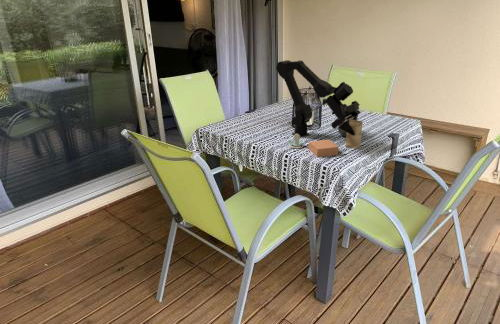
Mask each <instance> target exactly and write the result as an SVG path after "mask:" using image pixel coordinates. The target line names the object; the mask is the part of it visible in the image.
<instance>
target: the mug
mask: <svg viewBox="0 0 500 324" xmlns="http://www.w3.org/2000/svg"><path fill="white" fill-rule="evenodd" d="M338 127H339V125H338V126H337V131H338V134H340V135H341V136H343V137H346V136H347V132H346V131H343V130H341V129H338Z"/></svg>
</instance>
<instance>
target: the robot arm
mask: <svg viewBox="0 0 500 324" xmlns="http://www.w3.org/2000/svg"><path fill="white" fill-rule="evenodd" d="M275 70H276V71H277V73H278V76H279V77H281V78H282V79H283V80H284V82H285V84H286V87H287V89H288V91H289V92H288V93H289V94H290V97H291V100H292V101H293V104H294V108H295V109H294V115H295V117H294V118H292V119H291V124H292V125H294V132H291V134H292V135H293V136H294V135H295V134H299V135H300V138H302V137H305V136H308V135H310V133H308V123H309V122H310V120H311V119H312V118H313V115H314V114H313V112H314V111H313V110H312V108H311V105H310V103H309V104H308V103H306V102H305V101H304V99H303V96H302V94H301V91H300V88H299V86H298V84H297V82H296V79H295V76H294V75H295V71H296V72H297V73H299V74H300V75H301V76H302V77H303V79H305V80H306V81H307V82H308V84H310V85H311V86H312V87H313V91H314V93H315V94H316V95H317V97H319V98H321V99H322V106H325V105H327V106H328V107H329V109H330V110H331V111H332V112H331V114H332V115H335V117H336V119H335V120H333V121H332V122H331V125H330V126H331V127H332V129H333V130H335V129H337V130H338V129H341V130H343V131H346V132H347V133H349V134H351V135H353V136H354V135H355V133H354V131H353V129H352V128H351V126H350V124H349V121H351V120H358V117H359V115H360V114H361V111H360V103H359V102H358V101H357V100H354V101H351V103H350V104H348V105H347V104H346V103H343V102H344V101H346V100H347V98H349V97H350V96H352V94H353V93H354V89H353V87H352V86H351V85H349V84H347V83H346V82H345V81H343V82H341V83H340V84H338V86H332V85H331V83H329V82H327V80H324V79H322V78H320V77H319V76H318V75H316V73H315V72H314V71H312V69H310V68H309V67H308V66H307V64H306V63H305V62H304V61H303V60H295V61H291V60H289V59H288V60H287V59H286V60H281V61H278V62H277V63H276V67H275ZM323 98H324V99H323ZM338 125H339V127H338Z"/></svg>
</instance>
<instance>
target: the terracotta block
mask: <svg viewBox="0 0 500 324" xmlns="http://www.w3.org/2000/svg"><path fill="white" fill-rule="evenodd" d="M308 150H309V151H310V152H311V153H312V154H313V155H314V156H315V157H317V158H319V157H328V156H334V155H339V146H338V145H337V144H335V142H332V141H331V140H330V139H321V140H313V141H308Z"/></svg>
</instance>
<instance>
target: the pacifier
mask: <svg viewBox="0 0 500 324" xmlns="http://www.w3.org/2000/svg"><path fill="white" fill-rule="evenodd" d="M293 139H294V141H292V140H289V141H288V143H289V148H291V149H302V148H303V147H304V146H303V144H305V141H300V139H301V137H300V135H299V134H295V135H293Z"/></svg>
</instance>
